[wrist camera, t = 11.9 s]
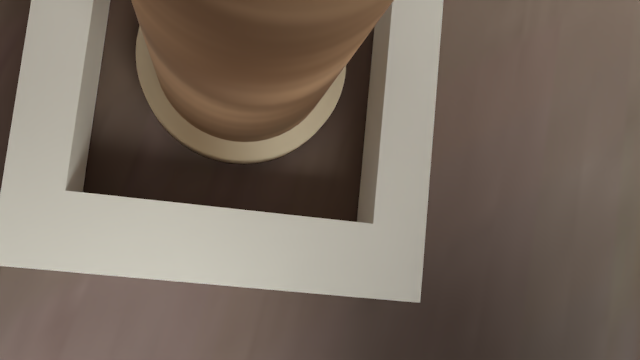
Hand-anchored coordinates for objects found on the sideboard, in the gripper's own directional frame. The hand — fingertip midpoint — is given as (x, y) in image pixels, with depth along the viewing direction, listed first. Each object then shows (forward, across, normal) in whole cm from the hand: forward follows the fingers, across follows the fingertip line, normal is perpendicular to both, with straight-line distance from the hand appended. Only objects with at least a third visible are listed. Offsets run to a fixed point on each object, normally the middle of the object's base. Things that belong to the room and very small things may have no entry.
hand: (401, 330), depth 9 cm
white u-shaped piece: (+12, 0, 0) cm, 12 cm away
